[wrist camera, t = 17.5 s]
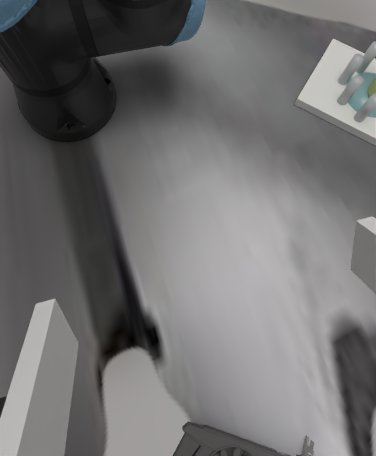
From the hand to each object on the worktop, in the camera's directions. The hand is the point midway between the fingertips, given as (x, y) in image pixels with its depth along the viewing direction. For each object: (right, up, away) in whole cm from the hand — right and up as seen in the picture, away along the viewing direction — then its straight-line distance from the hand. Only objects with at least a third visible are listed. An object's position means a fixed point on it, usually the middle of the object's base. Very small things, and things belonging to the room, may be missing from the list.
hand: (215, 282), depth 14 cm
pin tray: (+29, +24, +40) cm, 55 cm away
